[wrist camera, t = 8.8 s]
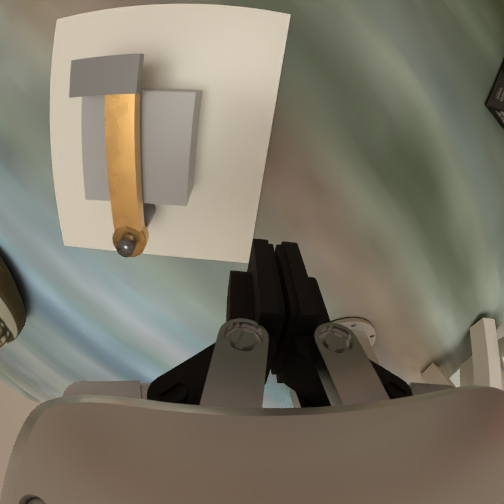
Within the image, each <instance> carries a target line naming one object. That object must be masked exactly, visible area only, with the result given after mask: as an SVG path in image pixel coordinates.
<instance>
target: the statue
mask: <svg viewBox="0 0 504 504" xmlns="http://www.w3.org/2000/svg"><path fill="white" fill-rule="evenodd" d="M25 322H26V313H25V308H24V304H23V301H22V298H21V296H20V293H19V291H18V289H17V286H16V284H15V281H14V279H13V277H12V275H11V273H10V271H9V269H8V268H7V266H6V264H5V263H4V261H3V259H2V258H1V256H0V349H1V348H2V347H3V346H5V345H8V344H10V343H11V342H12V341H14V340H15V339H16V338H17V336H18V335H19V334H20V332H21V330H22V329H23V327H24V325H25Z"/></svg>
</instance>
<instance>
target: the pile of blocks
mask: <svg viewBox="0 0 504 504" xmlns="http://www.w3.org/2000/svg"><path fill="white" fill-rule="evenodd" d="M470 337H471V346H472V357H471V358H470V359H468V360H466V361H465V362H463V363H462V364H460V387H462V386H473V385H479V386H490V387H495V388H498V389H501V390H503V391H504V337H502V338H501V339H499V340H498V339H497V333H496V326H495V320H494V319H489V318H482V319H481V320H479V321H478V322H477V323H475V324H474V325H473V326H471V327H470ZM421 376H422V377H423V378H424V380H425V381H426V383H427V384H439V385H450V386H453V387H455V385H454V384H453V383H452V382H451V380H450V379H449V378H448V376H447V375H446V374H445V373H444V371H443V370H441V369H440V368H439V367H438V366H437V365H435V364H434V363H433V362H432V364H431V365H430V366H429V367H428V368H427V369H426V370H425V371H424V372H423V373H422V374H421ZM455 388H456V387H455Z"/></svg>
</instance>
